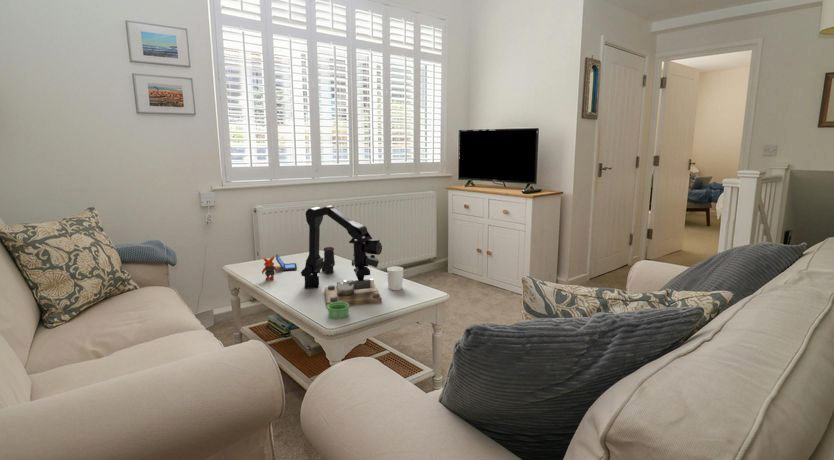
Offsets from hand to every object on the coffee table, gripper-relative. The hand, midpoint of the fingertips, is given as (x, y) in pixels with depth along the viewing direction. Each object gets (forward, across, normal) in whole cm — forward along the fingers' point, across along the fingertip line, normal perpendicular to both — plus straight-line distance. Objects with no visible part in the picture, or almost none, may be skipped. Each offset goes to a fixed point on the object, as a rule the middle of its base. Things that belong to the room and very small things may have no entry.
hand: (361, 284), depth 213 cm
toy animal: (+4, +34, +43) cm, 55 cm away
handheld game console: (+5, +53, +35) cm, 64 cm away
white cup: (+6, +4, -17) cm, 19 cm away
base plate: (+5, -3, +5) cm, 7 cm away
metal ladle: (+2, -3, +3) cm, 5 cm away
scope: (+5, +39, +12) cm, 41 cm away
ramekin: (+4, -23, +13) cm, 27 cm away
